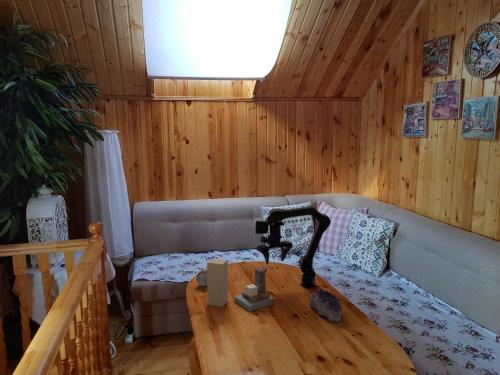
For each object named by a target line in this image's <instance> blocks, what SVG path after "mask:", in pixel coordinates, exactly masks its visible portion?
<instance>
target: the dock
mask: <svg viewBox="0 0 500 375" xmlns="http://www.w3.org/2000/svg"><path fill="white" fill-rule="evenodd" d="M233 297H234V302H235V303H237V304H238V305H240V306H241V307H242V308H244V309H246V310H247V312H252V311H255V310H258V309H261V308H264V307H268V306H271V305H273V304H275V298H274V297H272V296H271V295H270V297H269V298H266V299H262V300H259V301H256V302H253V303H252V302H251V300H250V299H248V298H247V297H243V295H242V293H241V294H238V295H234V296H233Z"/></svg>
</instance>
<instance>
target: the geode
mask: <svg viewBox="0 0 500 375" xmlns="http://www.w3.org/2000/svg"><path fill="white" fill-rule="evenodd" d="M340 300H341V298H339V297H338V298H337V295H336V294H335V293H332V292H329V291H328V290H327V289H326V290H325V289H323V288H320V289H319V290H317V291H313V292H311V294H310V297H309V306H310V307H312V308H313V309H314V310H315V312H317V314H318V316H319V317H325V318H327V320H328V321H329V322H331V323H341V319H342V316H343V315H342V314H343V313H342V305H341V302H340Z"/></svg>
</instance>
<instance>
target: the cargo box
mask: <svg viewBox="0 0 500 375" xmlns="http://www.w3.org/2000/svg"><path fill="white" fill-rule="evenodd" d="M245 291H246V294H247V295H248V296H250V297H252V296H255V295H258V287H257V286H255V283H254V284H253V283H251V284H248V285H245Z"/></svg>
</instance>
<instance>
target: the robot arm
mask: <svg viewBox="0 0 500 375" xmlns="http://www.w3.org/2000/svg"><path fill="white" fill-rule="evenodd" d="M303 216H312V217H313V218H314V219H316V221H315V229H314V232H313V235H312V238H311V240H310V242H309V243H308V244H309V245H308V247H307V249H306V252H305V253H304V255H300V258H299V260H298V262H297V263H298V267H299V270H300V271H301V273H302V274H301V282H300V283H299V285H300V286H302V287H304V288H306V289H311V288H315V287H317V284H316V275H317V273H316V271H315V269H314V267H313V266H314V257H315V254H316V252H317V250H318V248H319V245H320V242H321V240H322V237H323V235H324V233H325V232H326V231H327V230H328V228H329V227H330V225H331V222H332V220H331V218H330V217H329V216H328V215H327V214H325V213H321V212H320V211H319V210H318V209H316V208H315V207H314V206H313V205H309V206H302V207H295V208H289V209H288V208H287V209H285V208H272V209H271V210H270V211H269V213H268V215H267V217H266V219H265V220H255V226H254V234H255V235H267V234H268V233H269V234H268V235H267V236H260V243H263V244H258V245H257V247H256V251H257V252H259V253H261V254H262V255H263V257H264V258H263V259H264V261H265V264H266V265H269V263H270V262H269V261H270V250H274V249H279V248H280V251H281V252H280V260H281V262H284V260H285V258H286V256H287V255H288V253H289V251H290V250H291V249H293V246H294V244H293V243H292V241H288V240H287V239H286V240H281V239H283V236H282V233H281V229H282V228H281V227H282V226H285V223H284V222H283V221H284V220H286V219H289V218H298V217H303Z"/></svg>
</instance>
